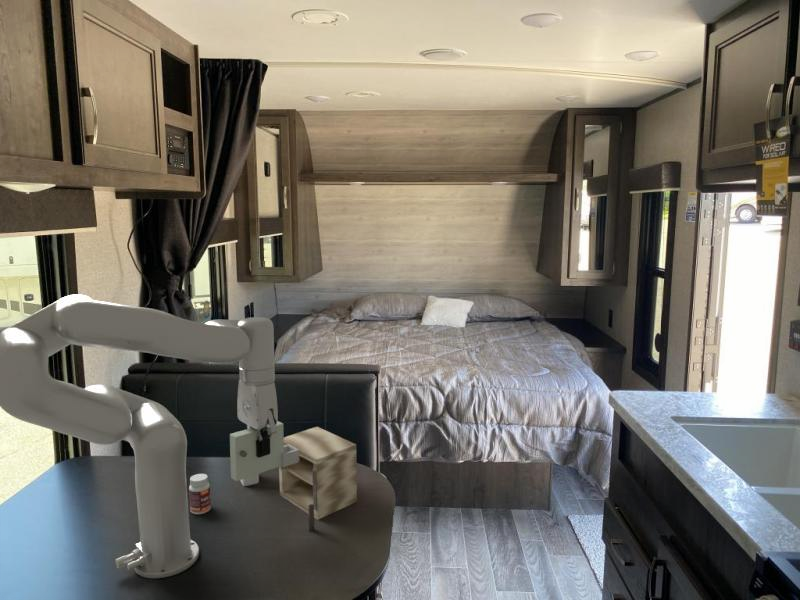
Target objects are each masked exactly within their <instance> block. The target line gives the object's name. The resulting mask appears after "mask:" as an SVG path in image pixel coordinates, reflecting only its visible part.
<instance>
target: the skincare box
mask: <svg viewBox="0 0 800 600" xmlns="http://www.w3.org/2000/svg"><path fill="white" fill-rule="evenodd" d="M259 475H260V473H259V474H256V475H253V476H251V477H248V478H245V479H242V480H239V481H240V483H241V485H242V487H247V486H252V485H257V484H259V483H260V479H259V478H260V477H259Z"/></svg>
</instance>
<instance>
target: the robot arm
mask: <svg viewBox="0 0 800 600" xmlns="http://www.w3.org/2000/svg"><path fill="white" fill-rule="evenodd" d="M274 329H275V328H274V323H273V321H272V320H271V319H270V318H268V317H265V316H264V317H261V316H260V317H259V316H257V317H256V316H253V317H246V318H242V319H219V318H218V319H212V320H211V319H210V320H209V321H207V322H205V323H204V322H198V321H193V320H189V319H185V318H182V317H179V316H176V315H174V314H171V313H168V312H166V311H163V310H159V309H155V308H149V307H141V306H133V305H129V304H128V305H127V304H120V303H113V302H108V301H100V300H94V299H93V298H91V297H90V296H88V295H84V294H79V293H78V294H77V293H76V294H70V295H67V296H66V295H65V296H64V297H61V298H59V299H58V300H56V301H54V302H53V303H51V304H48V305H47V306H46V307H44V308H42V309H40V310H38V311H36V312H34V313H33V314H31V315H29V316H27V317H25V318H24V319H21V320H20V321H18V322H16V323H15V324H13V325H10V326H9V327H7V328H4V330H2V331H1V332H0V407H1V409H2V410H3V411H5V412H6V413H7V414H8V415H10V416H12V417H14V418H15V419H17V420H20V421H22V422H25V423H28V424H33V425H34V426H35V425H36V426H37V427H38V426H39V427H42V428H45V429H49V430H50V431H54V432H57V433H60V434H62V435H66V436H70V437H74V438H77V439H80V440H83V441H86V442H89V443H93V444H96V445H100V446H107V445H114V444H117V443H119V442H121V441H125V442H128V443H129V444H130V446H131V448H132V449H133V454H134V465H135V468H134V483H135V487H134V488H135V496H136V504H137V506H136V507H137V517H138V529H139V531H138V532H139V540H140V541H139V542H138V543H135V549H133V550H131V552H130V553H128V554H125V555H122V556H120V557H118V558H115V560H114V561H115V567H116V568H117V569H119V570H120V568H123V567H126V569H127V570H128V571H131V570H133V569H134V572H135V573H136V574H137V575H139V576H140V577H143V578H147V579H161V578H163V579H164V578H167V577H171V576H175V575H178V574H180V573H182V572H184V571H186V570H187V569H189V568H190V567H192V565H194V564H195V563H196V561H197V560H198V558H199V555H200V547H199V544H198V543H197V542H195V540H192V539H191V532H190V531H191V530H190V514H189V513H190V512H189V511H190V510H189V497H188V485H187V483H188V482H187V469H186V468H187V467H186V466H187V451H188V448H187V447H188V440H187V434H186V431H185V429H184V427H183V425H182V424H181V423H180V421H179V420H178V419H177V418H176V417H175V416H174V415H173V414H172V413H171V412H170V411H169V410H168V409H167V408H166V407H165V406H164V405H162V404H160V403H159V402H156V401H154V400H152V399H148V398H146V397H144V396H140V395H137V394H134V393H132V392H129V391H127V390H123V389H120V388H118V387H114V386H112V385H108V384H94V385H93V384H92V385H89V386H86V387H84V388H83V387H80V386H78V385H76V384H73V383H69V382H66V381H63V380H58V379H55V378H53V376H51V375H50V373H49V357H51V356H53V355H54V354H56V353H58V352H60V351H61V350H63V349H64V348H66V347H68V346H70V345H74V346H79V347H87V348H89V347H90V348H98V349H109V350H119V351H129V352H136V353H137V352H139V353H148V354H152V355H157V356H162V357H170V358H174V359H180V360H181V359H182V360H186V361H187V360H188V361H192V362H198V363H199V362H202V363H210V364H222V365H223V364H224V365H231V364H235V363H238V368H239V373H238V374H239V380H238V385H237V402H236V403H237V405H236V406H237V407H236V408H237V409H236V410H237V419H238V420H239V421H240V422H242V423H243V424H245V426H246V428H247V429H250V428H254V429H256V430H257V435H258V440H256V456H257V457H258V458H260V457H263V456H266V455H268V454H270V438H271V435H272V434H274V433H276V432H277V431H276V427H275V425H276V424H277V421H278V417H279V416H278V411H279V410H278V399H277V398H278V396H277V389H276V385H275V381H276V376H275V375H276V373H275V370H276V369H275V368H276V367H275V338H274V336H275V335H274V334H275V332H274ZM263 429H266V430H264V431H263V432H262V430H263Z"/></svg>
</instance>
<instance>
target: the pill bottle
mask: <svg viewBox="0 0 800 600" xmlns="http://www.w3.org/2000/svg"><path fill="white" fill-rule="evenodd" d="M208 476H209V475H207V474H206V473H197V474H194V475H191V476H190V478H189V483H190V484H189V487H188V494H189V497H188V498H189V511H190V512H191V514H192V515H203V514H205V513H207V512H210V510H211V508H212V504H211V502H212V501H211V486H210V483H209V477H208Z"/></svg>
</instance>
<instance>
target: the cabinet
mask: <svg viewBox="0 0 800 600" xmlns="http://www.w3.org/2000/svg"><path fill="white" fill-rule="evenodd" d="M288 444H289V445H291V446H293V447H295V448H297V449H299V462H297V463H294V464H292V465H289V466H286V467H283V466H280V467H278V474H279V477H278V479H279V496H281V497H282V498H283V499H285V500H287V501H288V502H290V503H291V504H292V505H294V506H296V507H298V508H299V509H301V510H302V511H303V512H305V513H306V514H308V531H309V532H311V533H312V532H315V520H321V519H322V518H324V517H327V516H328V515H331V514H333V513H335V512H338V511H340V510H341V509H344V508H346V507H348V506H350V505H352V504H355V503H357V502H358V494H357V493H358V482H357V481H358V479H357V476H358V475H357V465H358V464H357V443H353V442H352V441H350V440H348V439H345V438H343V437H341V436H339V435H337V434H334V433H332V432H330V431H328V430H325V429H323V428H321V427H319V426H315V427H312V428H308V429H306V430H302V431H299V432H296V433H293V434H291V435H287V436H285V437H284V446H285V445H288Z"/></svg>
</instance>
